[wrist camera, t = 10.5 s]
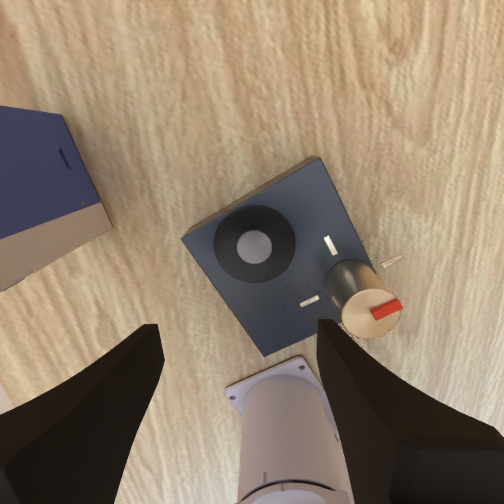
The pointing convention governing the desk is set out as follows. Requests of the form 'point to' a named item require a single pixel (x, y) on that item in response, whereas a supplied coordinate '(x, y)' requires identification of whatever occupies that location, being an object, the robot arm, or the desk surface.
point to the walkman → (42, 194)
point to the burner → (254, 243)
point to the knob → (362, 299)
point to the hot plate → (302, 265)
